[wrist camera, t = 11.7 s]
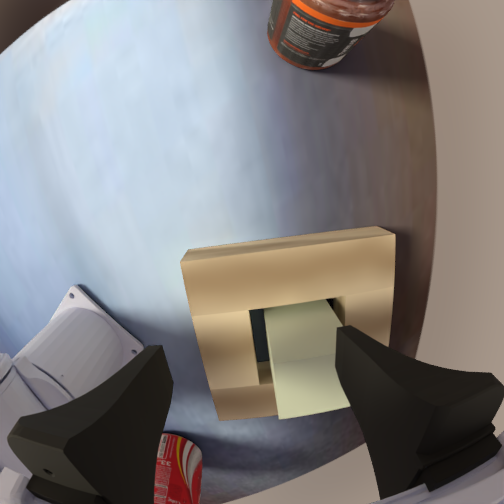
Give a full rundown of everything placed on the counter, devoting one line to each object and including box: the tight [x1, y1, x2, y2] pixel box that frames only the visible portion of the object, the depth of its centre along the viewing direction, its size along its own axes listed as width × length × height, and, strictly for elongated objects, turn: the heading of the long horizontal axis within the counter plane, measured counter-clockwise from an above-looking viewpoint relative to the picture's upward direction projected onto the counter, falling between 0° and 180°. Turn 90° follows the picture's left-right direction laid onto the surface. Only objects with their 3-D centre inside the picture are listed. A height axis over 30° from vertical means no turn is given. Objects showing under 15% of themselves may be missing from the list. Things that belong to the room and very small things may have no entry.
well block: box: [180, 226, 395, 421], centre depth 21 cm, size 14×14×3 cm
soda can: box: [154, 433, 202, 504], centre depth 21 cm, size 7×7×12 cm
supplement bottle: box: [267, 0, 394, 70], centre depth 12 cm, size 6×6×11 cm
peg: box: [263, 299, 350, 420], centre depth 19 cm, size 4×4×8 cm
